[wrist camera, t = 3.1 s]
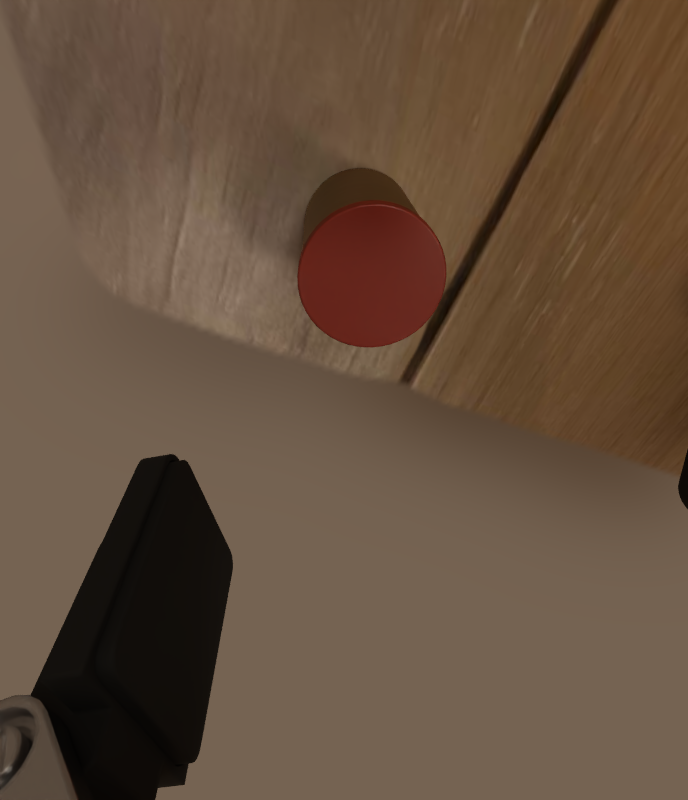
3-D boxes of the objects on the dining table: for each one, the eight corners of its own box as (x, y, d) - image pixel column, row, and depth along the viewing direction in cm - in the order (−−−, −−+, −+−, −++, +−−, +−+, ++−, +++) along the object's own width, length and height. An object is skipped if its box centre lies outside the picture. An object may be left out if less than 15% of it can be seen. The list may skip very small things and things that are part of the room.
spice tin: (315, 289, 25) (315, 359, 19) (290, 178, 22) (280, 221, 16) (419, 269, 25) (451, 334, 19) (408, 153, 22) (441, 189, 16)
